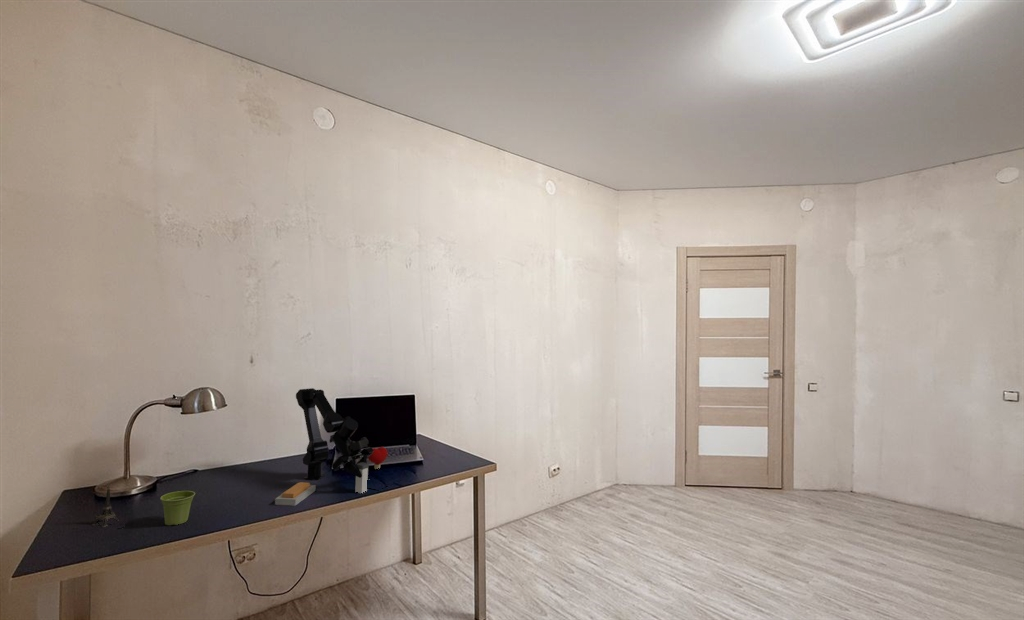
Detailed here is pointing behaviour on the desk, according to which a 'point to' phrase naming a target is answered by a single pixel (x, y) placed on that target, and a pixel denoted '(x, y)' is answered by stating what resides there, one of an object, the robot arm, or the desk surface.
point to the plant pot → (177, 506)
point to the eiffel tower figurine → (106, 512)
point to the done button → (295, 490)
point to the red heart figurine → (378, 456)
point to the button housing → (297, 499)
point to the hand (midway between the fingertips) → (364, 475)
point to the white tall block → (362, 478)
